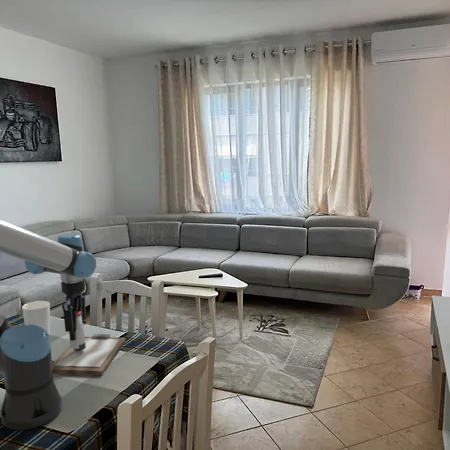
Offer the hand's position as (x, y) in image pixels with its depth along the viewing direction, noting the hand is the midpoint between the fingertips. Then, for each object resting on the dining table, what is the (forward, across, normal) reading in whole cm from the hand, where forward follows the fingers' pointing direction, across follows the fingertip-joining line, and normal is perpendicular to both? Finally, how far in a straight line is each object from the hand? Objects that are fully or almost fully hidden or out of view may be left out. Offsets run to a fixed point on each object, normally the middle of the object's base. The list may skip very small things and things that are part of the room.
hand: (77, 344), depth 145 cm
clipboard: (+4, 0, -4) cm, 6 cm away
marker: (+1, 0, -1) cm, 1 cm away
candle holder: (+4, +16, +23) cm, 28 cm away
